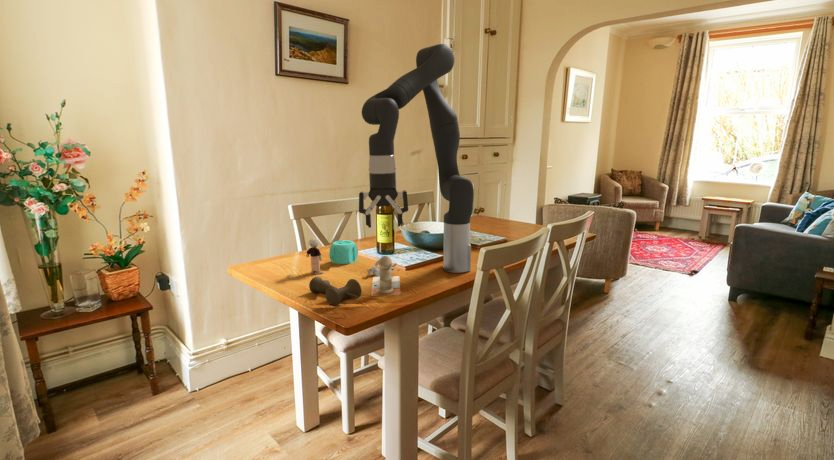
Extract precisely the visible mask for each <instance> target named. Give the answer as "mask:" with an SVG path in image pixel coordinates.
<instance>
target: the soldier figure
mask: <svg viewBox="0 0 834 460" xmlns="http://www.w3.org/2000/svg"><path fill="white" fill-rule="evenodd" d="M379 260H380V258H379V259H378V260H377V261H376V262H375V263H374V265H373V266H372V267H371V268H369V269H366V272H367V275H368V277H370V276H371V275H372V274H373V275H374V277H380V270H379V268H380V266H379ZM397 265H398V264H397V262H395V263H392V266H391V268H395V267H397ZM397 271H400V269H399V268H398V269H397ZM394 272H395V270H392V273H394Z"/></svg>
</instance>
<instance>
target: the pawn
mask: <svg viewBox="0 0 834 460" xmlns="http://www.w3.org/2000/svg"><path fill="white" fill-rule="evenodd" d="M379 259H380V260H379ZM379 259H378V260H379V263H378V267H380V268H379V270H380V276H379V277H380V282H379V283H380V287H379V293H380V294H384V295H383V296H388V295H387V294H391V293H393V289H394V288H393V287H392V273H393V272H392V271H393V270H392V267H391V266H392V265H393V261H392V259H391V257H389V256H387V255H385V256H382V257H380V258H379Z"/></svg>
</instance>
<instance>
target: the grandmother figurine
mask: <svg viewBox="0 0 834 460" xmlns="http://www.w3.org/2000/svg"><path fill="white" fill-rule="evenodd" d="M318 241H319V240H318V238H317V237H312V238H310V240H308V243H307V244H308V246H310V248H308V249H307V251H306V257H307V258H308V257H310V264H311V265H310V266H311V267H310V268H311V271H310V274H315V275H322V274H324V272H323V270H321V267H320V266H321V265H320V262H321V261H323V257H322V254H321V250H320V249H319V248H318V245H319V242H318Z"/></svg>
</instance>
